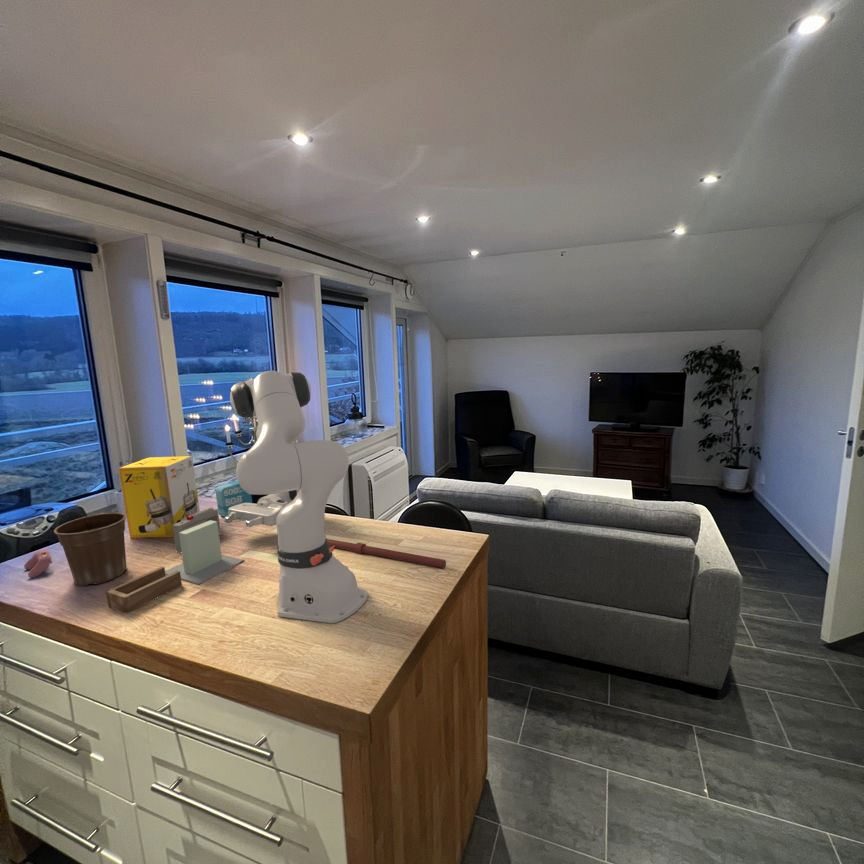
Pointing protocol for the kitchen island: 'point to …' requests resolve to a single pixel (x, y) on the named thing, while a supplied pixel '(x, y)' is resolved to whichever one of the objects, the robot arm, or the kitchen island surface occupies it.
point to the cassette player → (194, 523)
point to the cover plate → (200, 546)
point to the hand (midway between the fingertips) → (236, 522)
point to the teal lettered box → (230, 497)
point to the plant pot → (94, 547)
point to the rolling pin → (387, 553)
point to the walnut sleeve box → (142, 589)
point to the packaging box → (158, 494)
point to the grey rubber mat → (206, 570)
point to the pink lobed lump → (38, 563)
